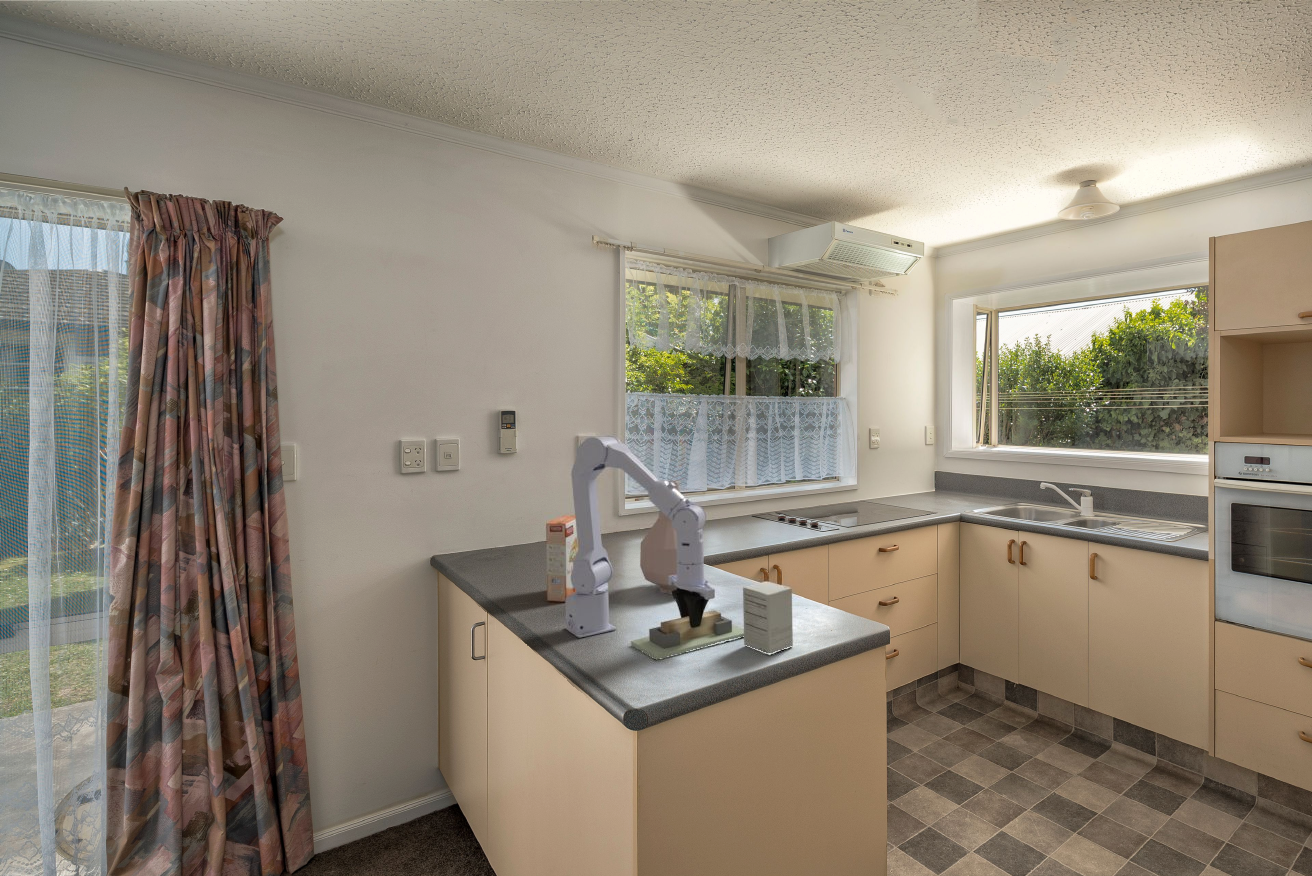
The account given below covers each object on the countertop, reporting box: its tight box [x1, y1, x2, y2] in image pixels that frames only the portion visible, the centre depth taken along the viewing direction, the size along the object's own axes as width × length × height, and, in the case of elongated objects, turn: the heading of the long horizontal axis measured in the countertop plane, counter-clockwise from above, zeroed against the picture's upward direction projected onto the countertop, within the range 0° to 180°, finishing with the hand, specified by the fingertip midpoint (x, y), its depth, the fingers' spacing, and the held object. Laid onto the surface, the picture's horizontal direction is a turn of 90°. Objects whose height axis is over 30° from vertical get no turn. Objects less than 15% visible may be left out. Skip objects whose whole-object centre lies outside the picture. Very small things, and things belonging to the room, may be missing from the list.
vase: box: [639, 480, 680, 594], centre depth 174 cm, size 18×18×30 cm
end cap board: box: [630, 615, 744, 661], centre depth 136 cm, size 24×10×4 cm, turn 122°
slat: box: [660, 610, 722, 642], centre depth 136 cm, size 14×2×4 cm, turn 122°
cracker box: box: [545, 514, 578, 603], centre depth 172 cm, size 14×6×21 cm, turn 168°
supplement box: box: [742, 581, 794, 653], centre depth 131 cm, size 7×7×13 cm
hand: (691, 624), depth 136 cm, fingers open, 2 cm apart
